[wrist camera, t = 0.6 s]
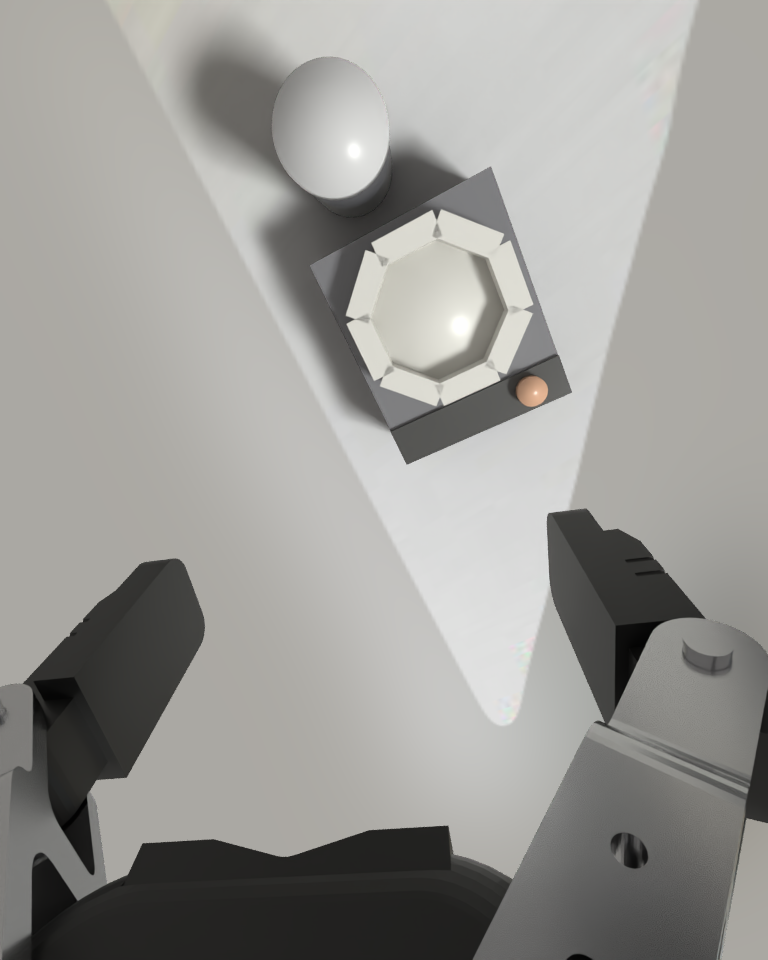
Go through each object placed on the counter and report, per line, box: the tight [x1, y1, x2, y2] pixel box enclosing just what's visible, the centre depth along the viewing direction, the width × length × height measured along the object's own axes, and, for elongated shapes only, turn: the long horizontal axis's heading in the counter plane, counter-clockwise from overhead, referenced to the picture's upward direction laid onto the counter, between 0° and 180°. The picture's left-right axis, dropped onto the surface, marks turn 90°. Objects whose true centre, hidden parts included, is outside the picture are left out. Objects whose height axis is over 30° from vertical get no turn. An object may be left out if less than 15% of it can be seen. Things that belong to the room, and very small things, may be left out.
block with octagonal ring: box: [310, 167, 572, 464], centre depth 28 cm, size 12×10×6 cm
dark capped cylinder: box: [272, 57, 392, 217], centre depth 25 cm, size 5×5×8 cm
